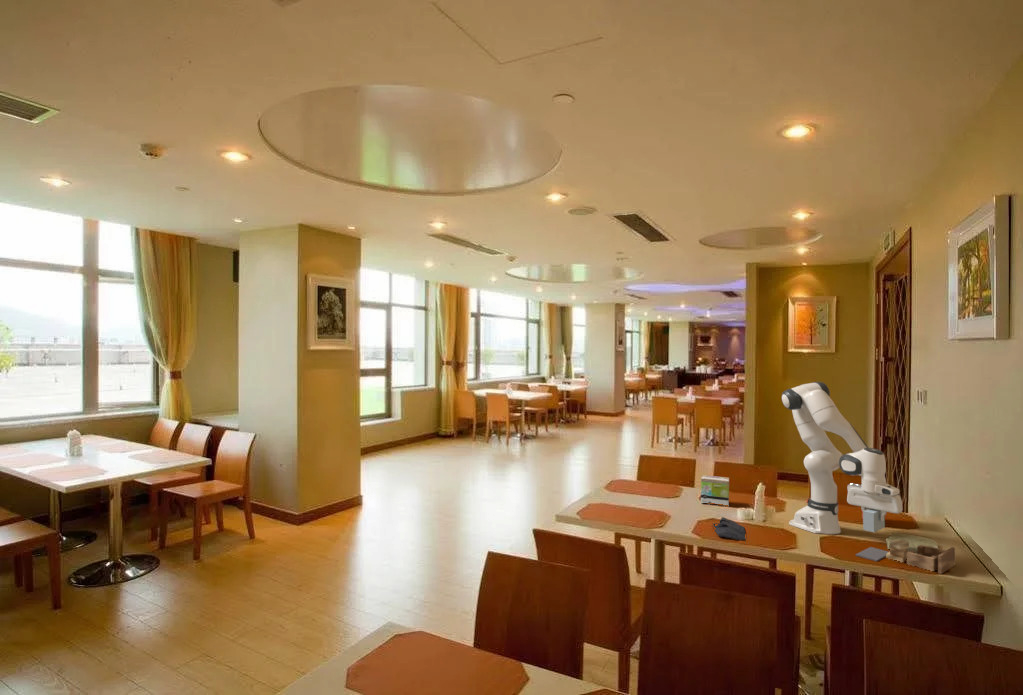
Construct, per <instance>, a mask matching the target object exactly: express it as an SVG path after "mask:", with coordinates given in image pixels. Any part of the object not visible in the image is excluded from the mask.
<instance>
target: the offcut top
mask: <svg viewBox="0 0 1023 695" xmlns="http://www.w3.org/2000/svg"><path fill="white" fill-rule="evenodd" d="M890 547H892V548H895V549H898V550H902V549H907V548H909V542H907V541H904V540H900V539H897V540H892V541H890Z"/></svg>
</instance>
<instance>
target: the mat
mask: <svg viewBox="0 0 1023 695" xmlns="http://www.w3.org/2000/svg"><path fill="white" fill-rule="evenodd" d="M888 552H889V550H888V551H887V550H884V549H880V548H877V547H872V546H869V547H868V548H865V549H864V550H861V551H860V552H858V553H855V556H856V557H860V558H863V559H866V560H870V561H874V562H879V561H881V560H883V559H884V558H886V554H887V553H888Z"/></svg>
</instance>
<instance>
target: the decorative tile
mask: <svg viewBox="0 0 1023 695" xmlns="http://www.w3.org/2000/svg"><path fill="white" fill-rule="evenodd" d="M897 539H900V540H904V541H907V542H909V548H908V551H910V550H913V551H915V553H916V554H917V547H918V546H919V545H921V544H922V545H926V546H930V547H934V548H938V549H939V546H938V543H937V542H936V540H935V539H933V538H928V537H924V536H919V535H913V534H905V533H899V532H891V534H890V535H888V537H887V538H886V539H885V542H886V546H887V550H888V549H890V548H891V547H890V541H892V540H897Z"/></svg>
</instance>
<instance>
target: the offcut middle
mask: <svg viewBox="0 0 1023 695" xmlns="http://www.w3.org/2000/svg"><path fill="white" fill-rule="evenodd" d="M889 552H890V554H891V555H896V556H900V557H905V556H906V555H907V552H908V548H907V549H902V550H898V549H895V548H892V547H891V548H890V550H889Z"/></svg>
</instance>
